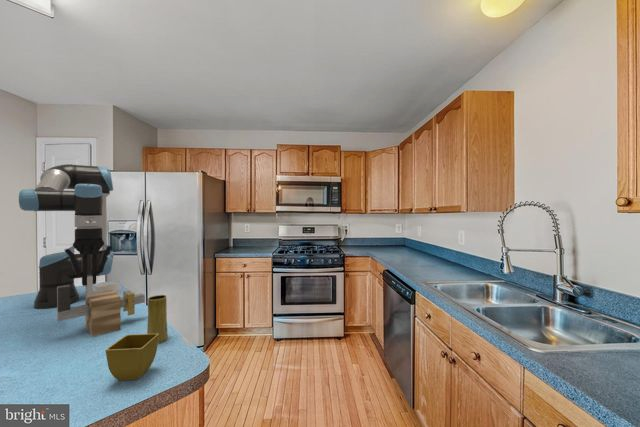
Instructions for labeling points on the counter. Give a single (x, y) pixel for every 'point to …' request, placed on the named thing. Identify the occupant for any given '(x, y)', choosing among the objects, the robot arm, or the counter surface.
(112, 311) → the block
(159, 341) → the vase
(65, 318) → the shaft
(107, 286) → the cup
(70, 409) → the counter surface
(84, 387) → the counter surface
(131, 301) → the collar
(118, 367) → the flower pot
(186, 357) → the counter surface
